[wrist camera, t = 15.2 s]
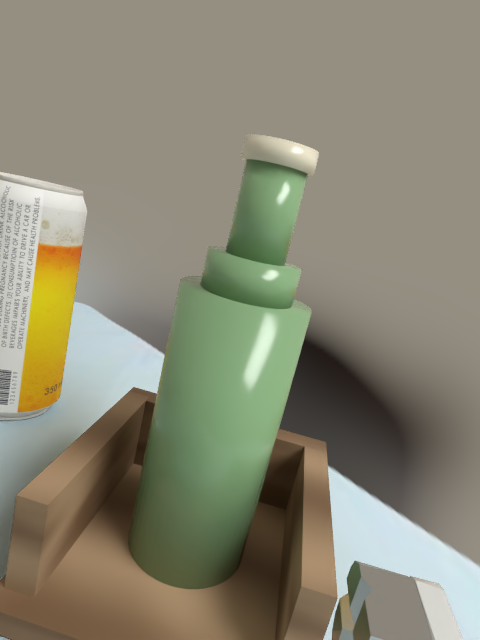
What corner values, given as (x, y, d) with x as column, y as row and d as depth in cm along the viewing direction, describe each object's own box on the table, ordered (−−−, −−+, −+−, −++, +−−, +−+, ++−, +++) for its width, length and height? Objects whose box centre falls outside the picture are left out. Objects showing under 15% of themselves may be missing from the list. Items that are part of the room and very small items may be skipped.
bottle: (102, 541, 20) (182, 115, 16) (175, 488, 24) (252, 150, 20) (202, 613, 17) (328, 137, 13) (261, 539, 22) (368, 171, 18)
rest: (305, 743, 15) (348, 624, 14) (-24, 627, 16) (-10, 508, 15) (307, 516, 26) (330, 441, 25) (117, 458, 28) (130, 384, 26)
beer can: (65, 389, 35) (95, 192, 31) (48, 429, 29) (82, 193, 25) (-21, 378, 33) (0, 170, 30) (-57, 418, 27) (-37, 166, 24)
